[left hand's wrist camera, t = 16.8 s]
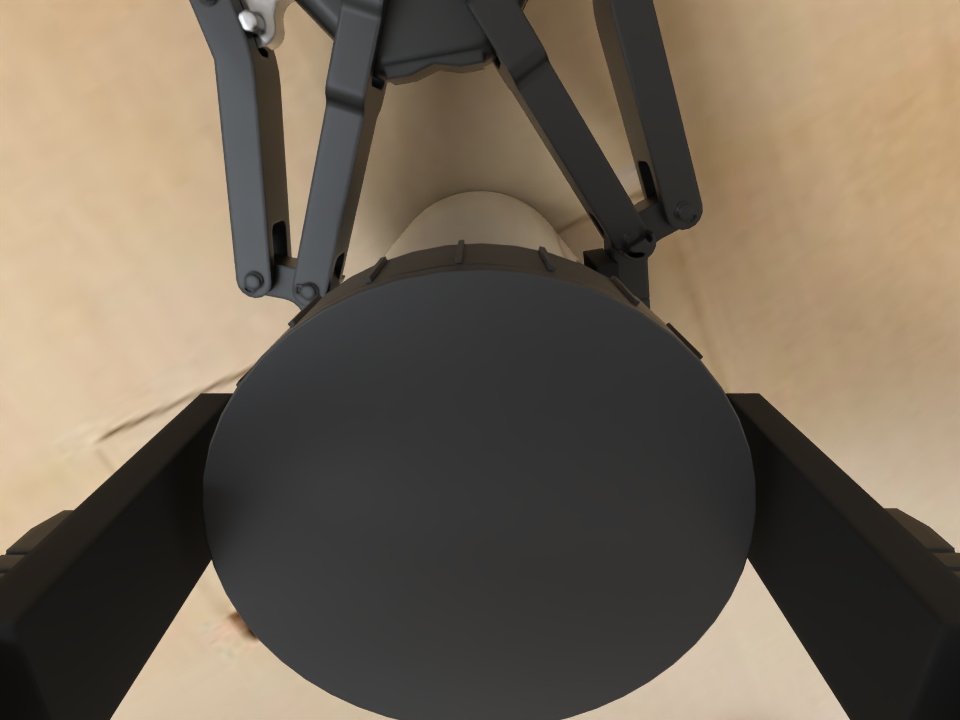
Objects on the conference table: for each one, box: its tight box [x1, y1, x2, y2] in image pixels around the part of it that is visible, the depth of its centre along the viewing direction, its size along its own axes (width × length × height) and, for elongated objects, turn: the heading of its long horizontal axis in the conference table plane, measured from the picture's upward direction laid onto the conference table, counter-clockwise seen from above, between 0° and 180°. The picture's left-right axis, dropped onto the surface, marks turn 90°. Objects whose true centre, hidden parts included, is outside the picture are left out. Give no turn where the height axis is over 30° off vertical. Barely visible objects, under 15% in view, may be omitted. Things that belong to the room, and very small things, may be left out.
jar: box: [384, 191, 581, 264], centre depth 19 cm, size 9×9×18 cm
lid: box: [202, 240, 756, 720], centre depth 11 cm, size 10×10×2 cm
